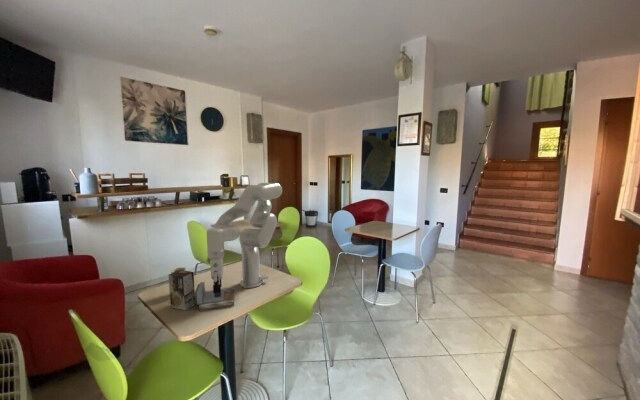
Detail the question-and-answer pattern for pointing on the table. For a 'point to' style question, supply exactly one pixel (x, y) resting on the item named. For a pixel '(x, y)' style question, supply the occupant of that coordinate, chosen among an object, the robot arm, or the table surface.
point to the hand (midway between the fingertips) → (217, 289)
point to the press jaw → (207, 295)
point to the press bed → (227, 301)
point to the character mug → (178, 269)
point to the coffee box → (182, 289)
